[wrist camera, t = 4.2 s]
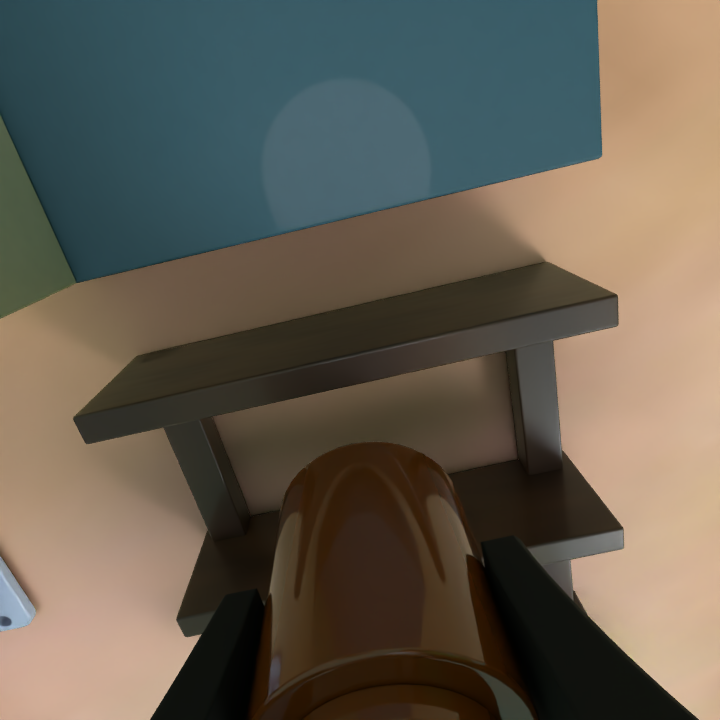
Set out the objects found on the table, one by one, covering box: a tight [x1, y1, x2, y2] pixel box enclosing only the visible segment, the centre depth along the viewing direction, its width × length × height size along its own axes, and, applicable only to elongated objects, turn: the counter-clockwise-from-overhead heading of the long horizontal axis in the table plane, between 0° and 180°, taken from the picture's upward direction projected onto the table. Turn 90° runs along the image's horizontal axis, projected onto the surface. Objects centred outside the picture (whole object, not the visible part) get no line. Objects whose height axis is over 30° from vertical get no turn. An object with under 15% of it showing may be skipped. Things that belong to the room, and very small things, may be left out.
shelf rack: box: [73, 262, 624, 637], centre depth 16 cm, size 13×14×4 cm
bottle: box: [246, 441, 540, 720], centre depth 8 cm, size 4×4×7 cm
